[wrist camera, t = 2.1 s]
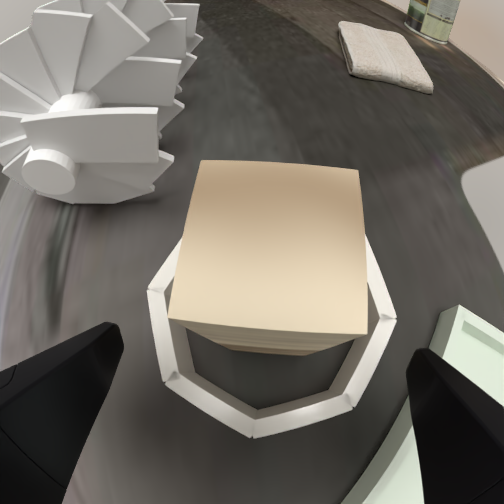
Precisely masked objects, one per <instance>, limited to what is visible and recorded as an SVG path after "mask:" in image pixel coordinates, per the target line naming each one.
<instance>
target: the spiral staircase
mask: <svg viewBox="0 0 504 504" xmlns="http://www.w3.org/2000/svg"><path fill="white" fill-rule="evenodd" d="M164 1H165V0H55V1H52V2H50V3H47V4H45V5H42V6H40V7H38V8H37V9H36V11H34V12H33V16H32V21H31V25H30V26H29V27H28V28H26V29H24V30H22V31H21V32H19V33H17V34H15V35H13V36H11V37H10V38H8V39H7V40H5V41H3V42H1V43H0V163H1V164H2V165H3V166H4V168H3V171H2V173H4V174H5V175H7V176H8V177H10V178H11V179H13V180H14V181H16V182H17V183H19V184H20V185H22V186H24V187H25V188H27V189H28V190H30V191H31V192H33V191H34V190H36V194H39V195H42V196H46V197H49V198H53V199H56V200H60V201H63V202H67V203H71V204H74V202H75V203H102V204H116V203H118V202H121V201H125V200H128V199H131V198H134V197H138V196H141V195H144V194H148V193H151V192H154V189H155V186H154V185H153V184H152V183H153V182H154V181H155V180H156V179H157V178H158V177H159V176H160V175H161V174H162V173H163V172H164V171H165V170H166V169H167V168H168V167H169V166H170V165H171V164H172V163H173V162H174V156H173V155H170V154H168V153H165V152H163V151H161V150H159V139H161V138H162V134H161V133H160V130H161V129H162V128H164V127H165V126H166V125H167V124H168V123H169V122H170V121H171V120H172V119H173V118H174V117H175V116H176V115H177V114H178V113H180V112H181V111H182V110H183V109H184V106H185V105H184V104H183V103H181V102H179V101H178V100H176V99H174V96H175V95H176V94H178V93H180V92H182V88H181V87H180V86H179V85H178V83H179V82H180V81H181V79H182V78H183V76H184V75H185V74H186V72H187V71H188V70H189V68H190V67H191V66H192V64H193V63H194V62H195V60H196V58H197V57H196V56H194V55H192V54H190V53H191V52H192V50H193V49H194V48H195V47H196V46H197V45H198V44H199V43H200V42H201V41H202V40H203V37H201V36H200V35H198V34H196V33H195V30H196V23H197V16H198V10H199V4H185V3H164Z"/></svg>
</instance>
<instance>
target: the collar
mask: <svg viewBox="0 0 504 504" xmlns="http://www.w3.org/2000/svg"><path fill="white" fill-rule="evenodd" d="M181 242H182V238H181V240H180V241H179V243H178V244H177V245H176V247H175V248H174V250H173V251H172V253H171V254H170V255H169V257H168V258H167V260H166V261H165V263H164V264H163V265H162V267H161V268H160V270H159V271H158V273H157V274H156V276H155V277H154V279H153V280H152V282H151V283H150V285H149V286H148V288H149V289H150V290H147V295H148V303H149V310H150V316H151V323H152V329H153V335H154V340H155V346H156V351H157V356H158V362H159V366H160V371H161V376H162V380H163V382H166V383H165V385H166V386H167V387H169V388H170V389H171V390H173V391H174V392H176V393H177V394H179V395H180V396H181V397H183V398H184V399H186V400H187V401H189V402H190V403H192V404H193V405H195V406H196V407H198V408H200V409H201V410H203V411H204V412H206V413H207V414H209V415H211V416H212V417H214V418H216V419H217V420H219V421H221V422H222V423H224V424H226V425H227V426H229V427H231V428H233V429H234V430H236V431H238V432H240V433H241V434H243V435H245V436H247V437H249V438H251V436H252V435H253V439H254V438H259V437H263V436H268V435H272V434H276V433H280V432H284V431H288V430H292V429H295V428H299V427H302V426H306V425H309V424H312V423H315V422H319V421H322V420H325V419H328V418H331V417H334V416H336V415H339V414H342V413H345V412H348V411H350V410H353V409H352V406H353V407H356V405H357V403H358V401H359V399H360V398H361V396H362V394H363V392H364V390H365V388H366V386H367V384H368V383H369V381H370V379H371V377H372V375H373V373H374V371H375V369H376V366H377V364H378V362H379V360H380V358H381V356H382V354H383V351H384V349H385V347H386V345H387V343H388V340H389V338H390V336H391V333H392V331H393V328H394V326H395V324H396V321H397V320H395V319H394V318H397V316H396V313H395V310H394V308H393V305H392V302H391V299H390V296H389V293H388V291H387V288H386V285H385V282H384V280H383V277H382V274H381V272H380V269H379V267H378V264H377V262H376V259H375V257H374V254H373V252H372V249H371V247H370V245H369V242H368V240H367V238H366V235H365V243H366V261H367V290H368V327H367V334H366V335H364V336H361V337H358V338H356V339H355V340H354V343H353V345H352V347H351V349H350V351H349V353H348V354H347V356H346V358H345V360H344V362H343V364H342V366H341V368H340V370H339V372H338V373H337V375H336V377H335V379H334V381H333V383H332V384H331V386H330V388H329V390H326V391H323V392H320V393H317V394H314V395H311V396H308V397H304V398H301V399H298V400H294V401H290V402H287V403H283V404H279V405H276V406H272V407H268V408H263V409H259V410H257V409H255V408H253V407H251V406H249V405H248V404H246V403H244V402H242V401H241V400H239V399H237V398H235V397H234V396H232V395H230V394H229V393H227V392H225V391H224V390H222V389H220V388H219V387H217V386H215V385H214V384H212V383H211V382H209V381H208V380H206V379H204V378H203V377H201V376H200V375H198V374H197V373H195V369H194V365H193V360H192V356H191V351H190V347H189V342H188V337H187V332H186V327H184V326H182V325H180V324H178V323H176V322H174V321H172V320H170V319H169V318H167V316H168V310H169V304H170V298H171V293H172V287H173V282H174V276H175V271H176V266H177V261H178V256H179V251H180V246H181Z"/></svg>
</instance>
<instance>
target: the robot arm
mask: <svg viewBox="0 0 504 504" xmlns="http://www.w3.org/2000/svg"><path fill="white" fill-rule="evenodd" d="M123 350H124V343H123V340H122V336H121V333H120V329H119V326H118V325H117V324H115V323H111V322H104V323H102V324H100V325H97V326H95V327H93V328H91V329H89V330H87V331H85V332H83V333H81V334H79V335H77V336H74V337H72V338H70V339H68V340H66V341H64V342H62V343H60V344H58V345H56V346H54V347H51V348H49V349H47V350H45V351H43V352H41V353H39V354H37V355H35V356H33V357H30V358H28V359H26V360H24V361H22V362H20V363H18V365H17V364H16V365H14V366H12V367H10V368H7V369H5V370H3V371H1V372H0V504H62V501H63V499H64V496H65V493H66V489H67V487H68V484H69V482H70V479H71V477H72V474H73V471H74V469H75V466H76V464H77V461H78V459H79V457H80V454H81V452H82V449H83V447H84V445H85V442H86V440H87V438H88V435H89V433H90V431H91V428H92V426H93V424H94V422H95V420H96V417H97V415H98V413H99V411H100V409H101V406H102V404H103V402H104V400H105V398H106V396H107V394H108V391H109V389H110V386H111V384H112V381H113V378H114V375H115V372H116V370H117V367H118V364H119V361H120V359H121V356H122V353H123ZM406 379H407V386H408V394H409V403H410V412H411V419H412V424H413V429H414V435H415V440H416V446H417V452H418V458H419V465H420V472H421V479H422V488H423V498H424V504H504V406H502V405H501V404H500V403H499V402H497V401H496V400H495V399H494V398H492V397H491V396H490V395H489V394H487V393H486V392H485V391H484V390H482V389H481V388H480V387H479V386H477V385H476V384H475V383H473V382H472V381H471V380H470V379H468V378H467V377H466V376H465V375H463V374H462V373H461V372H459V371H458V370H457V369H455V368H454V367H453V366H452V365H450V364H449V363H448V362H446V361H445V360H444V359H442V358H441V357H440V356H438V355H437V354H436V353H435V352H433V351H432V350H431V349H429V348H419V349H417V350H416V351H415V352H414V354H413V356H412V358H411V360H410V363H409V365H408V367H407V370H406Z"/></svg>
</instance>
